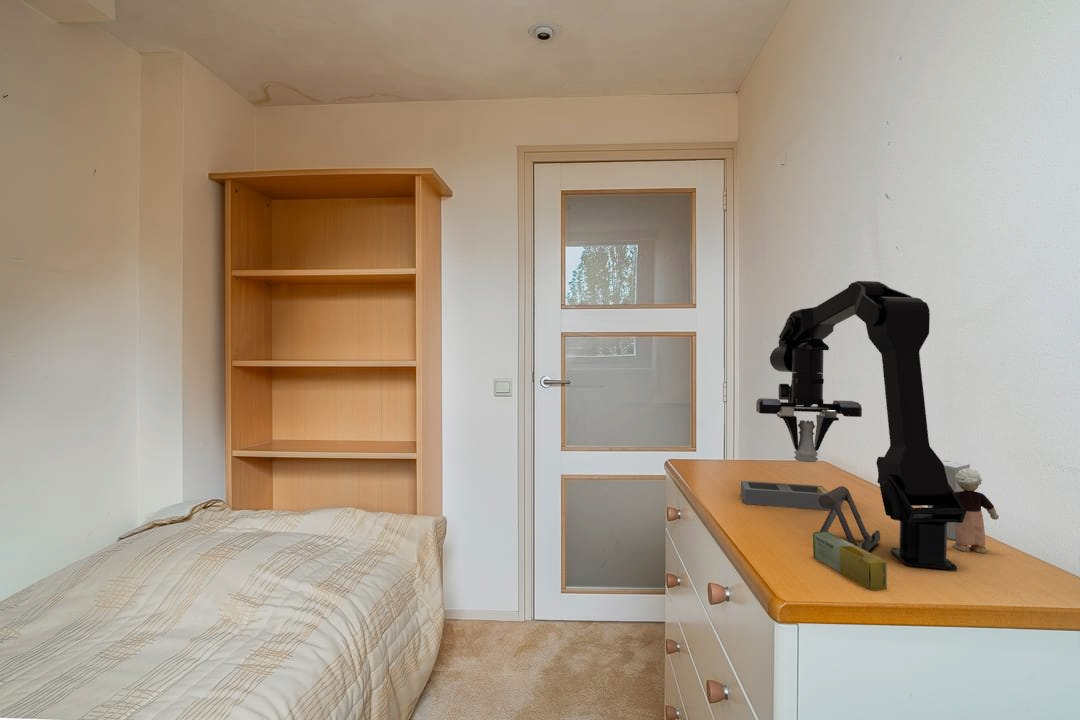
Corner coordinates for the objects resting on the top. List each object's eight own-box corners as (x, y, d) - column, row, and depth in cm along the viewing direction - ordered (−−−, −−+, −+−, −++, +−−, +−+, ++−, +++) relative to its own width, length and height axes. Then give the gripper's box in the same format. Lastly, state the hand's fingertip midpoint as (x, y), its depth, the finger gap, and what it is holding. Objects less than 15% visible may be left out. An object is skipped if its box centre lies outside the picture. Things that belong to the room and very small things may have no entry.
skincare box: (955, 541, 92) (957, 467, 92) (925, 533, 95) (926, 462, 95) (971, 534, 95) (972, 463, 95) (941, 527, 99) (942, 459, 99)
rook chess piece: (822, 462, 111) (822, 422, 111) (799, 462, 111) (800, 422, 111) (812, 458, 116) (812, 420, 116) (790, 458, 116) (790, 419, 116)
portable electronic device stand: (865, 558, 83) (866, 502, 83) (809, 545, 89) (810, 492, 89) (880, 544, 90) (881, 492, 90) (827, 532, 95) (828, 484, 95)
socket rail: (831, 510, 109) (832, 495, 109) (744, 504, 113) (745, 489, 113) (821, 500, 117) (822, 485, 117) (740, 494, 121) (740, 480, 121)
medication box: (811, 558, 84) (811, 531, 84) (828, 557, 84) (828, 530, 84) (869, 592, 72) (869, 561, 72) (888, 591, 72) (888, 560, 72)
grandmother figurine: (984, 546, 89) (985, 466, 89) (1001, 554, 86) (1003, 471, 85) (932, 543, 90) (934, 465, 90) (947, 552, 86) (949, 470, 86)
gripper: (846, 373, 119) (845, 446, 119) (753, 371, 124) (752, 442, 124) (863, 374, 108) (862, 455, 108) (760, 372, 113) (759, 449, 113)
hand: (806, 449), depth 114 cm, fingers closed on rook chess piece, 3 cm apart
